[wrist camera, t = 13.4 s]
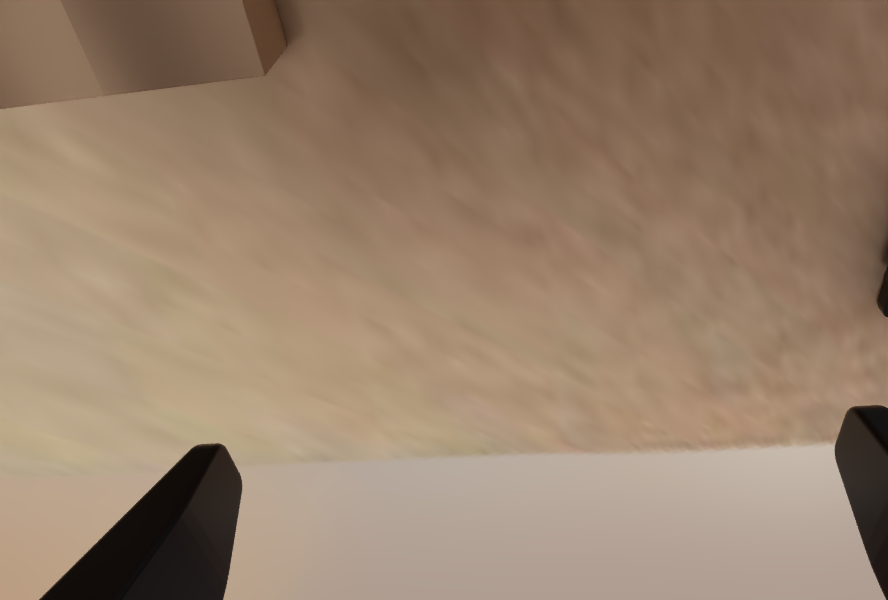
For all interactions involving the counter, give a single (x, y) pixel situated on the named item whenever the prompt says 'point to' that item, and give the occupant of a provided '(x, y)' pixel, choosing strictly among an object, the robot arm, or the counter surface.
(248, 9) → the brown wooden tray
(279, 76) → the counter surface
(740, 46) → the counter surface
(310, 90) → the counter surface
